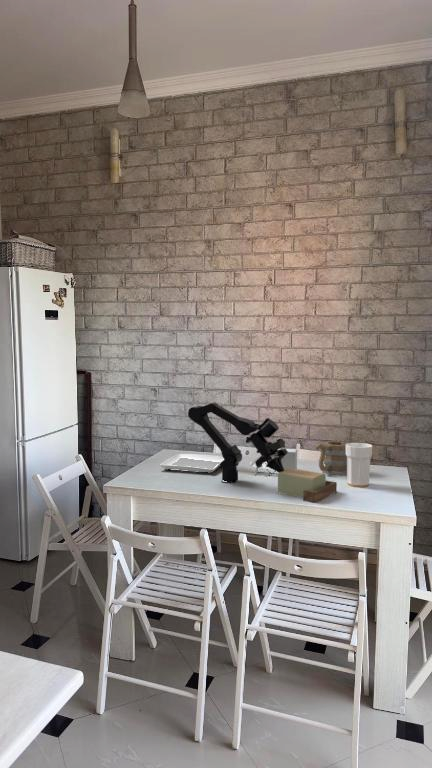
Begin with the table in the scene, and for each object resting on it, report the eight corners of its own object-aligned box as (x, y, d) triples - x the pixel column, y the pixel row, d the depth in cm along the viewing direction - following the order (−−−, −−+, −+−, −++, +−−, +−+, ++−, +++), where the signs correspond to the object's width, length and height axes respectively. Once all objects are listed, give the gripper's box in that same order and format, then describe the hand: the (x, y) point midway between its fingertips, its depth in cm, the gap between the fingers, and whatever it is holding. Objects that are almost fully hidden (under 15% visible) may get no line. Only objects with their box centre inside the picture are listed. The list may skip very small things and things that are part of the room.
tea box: (277, 492, 231) (277, 472, 230) (291, 487, 239) (291, 467, 239) (312, 499, 221) (312, 478, 220) (325, 493, 230) (325, 473, 229)
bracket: (303, 500, 219) (303, 490, 219) (324, 489, 235) (324, 480, 234) (315, 502, 216) (315, 492, 216) (336, 491, 232) (336, 482, 231)
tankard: (336, 468, 274) (336, 437, 273) (355, 473, 263) (356, 441, 262) (305, 473, 263) (305, 441, 262) (324, 479, 253) (324, 446, 251)
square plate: (158, 472, 266) (158, 463, 266) (179, 460, 292) (179, 452, 292) (213, 476, 258) (213, 468, 258) (229, 463, 284) (229, 456, 284)
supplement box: (297, 475, 258) (297, 448, 257) (295, 479, 251) (295, 452, 250) (281, 474, 260) (281, 447, 259) (278, 478, 253) (279, 451, 252)
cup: (352, 488, 236) (353, 448, 235) (339, 482, 247) (340, 443, 246) (376, 486, 239) (377, 446, 238) (362, 480, 250) (363, 442, 249)
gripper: (261, 436, 229) (285, 466, 223) (284, 430, 244) (306, 458, 238) (245, 452, 234) (268, 482, 229) (268, 445, 249) (290, 473, 244)
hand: (284, 473), depth 235 cm, fingers closed
